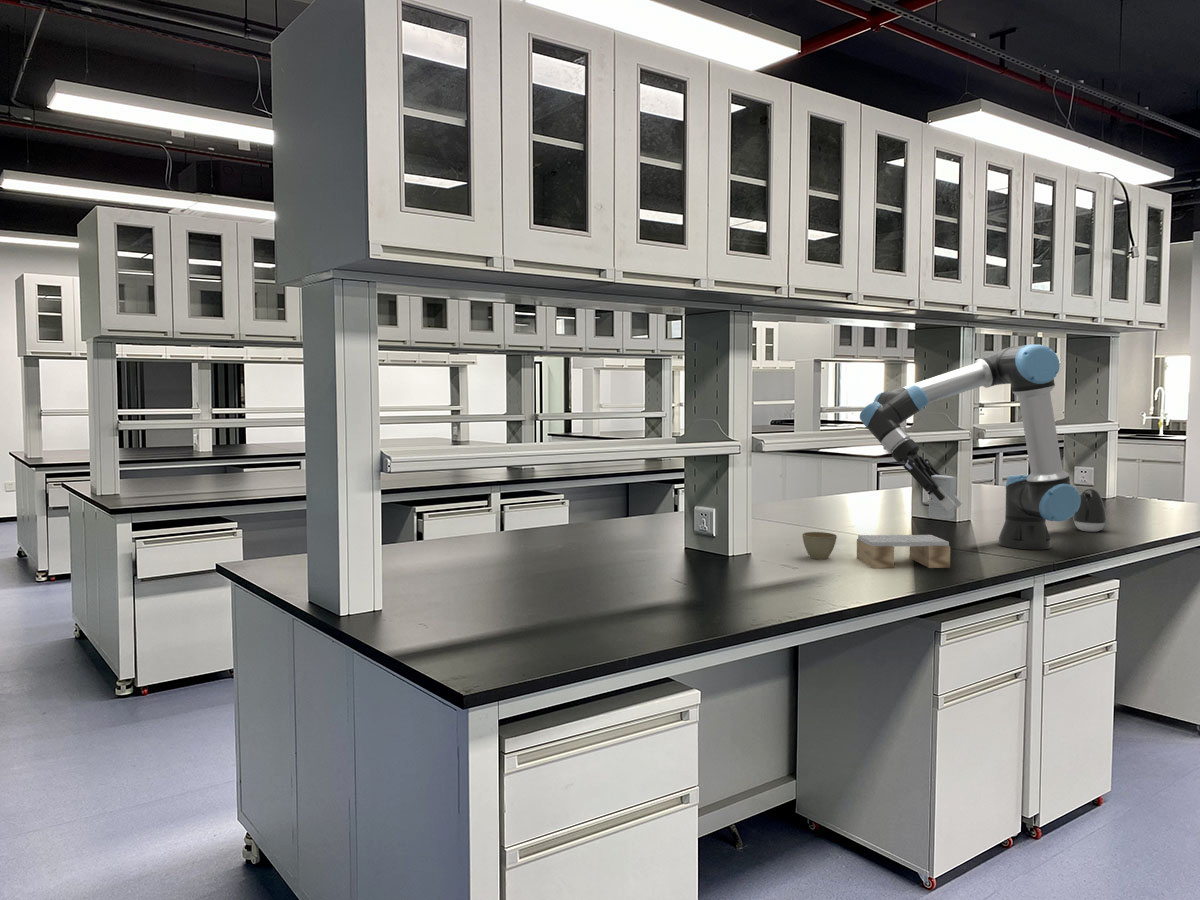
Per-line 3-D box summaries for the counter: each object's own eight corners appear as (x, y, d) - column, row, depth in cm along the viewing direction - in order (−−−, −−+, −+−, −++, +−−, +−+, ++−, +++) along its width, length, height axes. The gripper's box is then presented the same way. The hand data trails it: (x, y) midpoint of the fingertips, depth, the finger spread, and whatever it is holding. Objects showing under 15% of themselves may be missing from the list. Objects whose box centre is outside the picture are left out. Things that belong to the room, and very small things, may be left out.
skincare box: (927, 517, 239) (929, 475, 238) (934, 515, 242) (935, 474, 241) (949, 519, 235) (950, 477, 234) (955, 518, 238) (957, 476, 237)
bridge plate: (931, 538, 247) (931, 534, 247) (948, 546, 235) (948, 541, 235) (858, 539, 247) (858, 535, 247) (871, 546, 235) (872, 542, 235)
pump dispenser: (1068, 530, 298) (1069, 488, 297) (1078, 527, 305) (1079, 486, 304) (1100, 534, 291) (1101, 491, 290) (1109, 530, 298) (1111, 488, 297)
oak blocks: (929, 558, 249) (929, 538, 248) (949, 567, 235) (950, 546, 234) (856, 558, 248) (856, 538, 248) (872, 568, 234) (873, 547, 234)
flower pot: (798, 559, 247) (799, 535, 246) (805, 553, 256) (806, 530, 255) (833, 562, 242) (833, 538, 242) (839, 556, 251) (839, 533, 251)
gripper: (904, 453, 254) (957, 512, 244) (878, 456, 241) (933, 518, 231) (921, 436, 250) (976, 496, 240) (897, 438, 237) (953, 501, 227)
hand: (955, 507), depth 235 cm, fingers closed on skincare box, 4 cm apart
